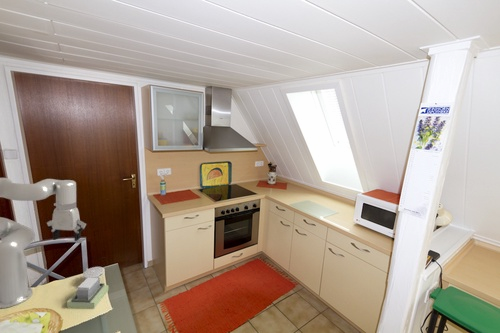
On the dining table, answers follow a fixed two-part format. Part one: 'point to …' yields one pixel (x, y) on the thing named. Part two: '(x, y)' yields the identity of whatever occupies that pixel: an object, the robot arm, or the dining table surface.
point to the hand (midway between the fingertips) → (67, 239)
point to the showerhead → (93, 272)
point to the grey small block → (88, 288)
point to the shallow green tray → (92, 300)
